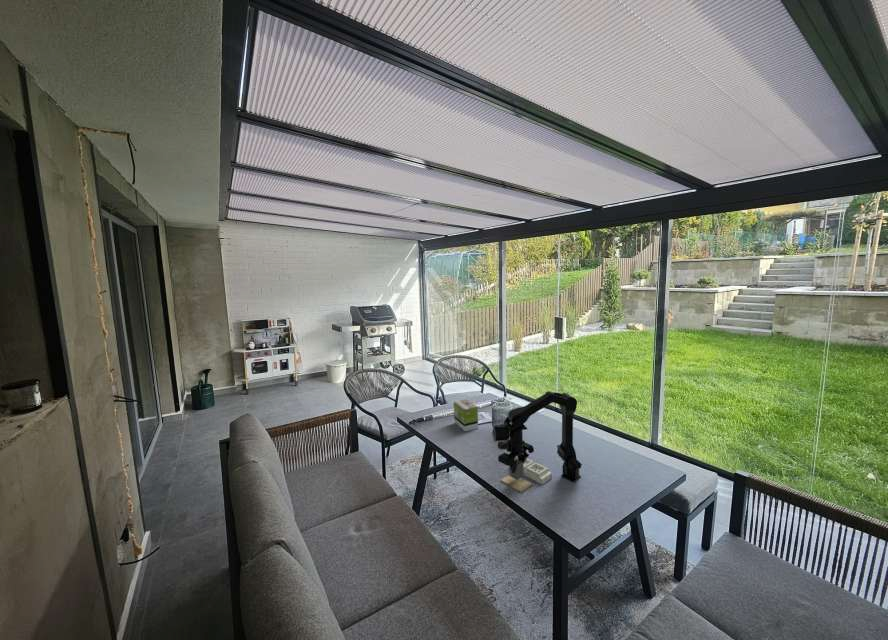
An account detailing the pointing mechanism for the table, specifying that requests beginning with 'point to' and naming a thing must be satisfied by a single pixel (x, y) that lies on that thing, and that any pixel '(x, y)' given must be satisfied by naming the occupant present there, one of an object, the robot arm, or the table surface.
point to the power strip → (536, 471)
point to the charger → (517, 470)
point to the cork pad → (517, 483)
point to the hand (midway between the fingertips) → (516, 471)
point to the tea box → (466, 415)
